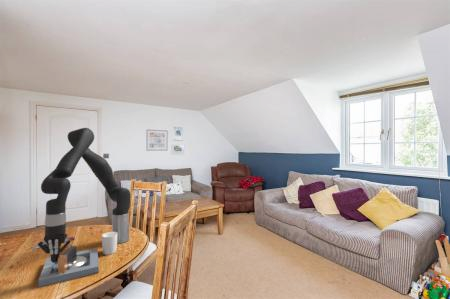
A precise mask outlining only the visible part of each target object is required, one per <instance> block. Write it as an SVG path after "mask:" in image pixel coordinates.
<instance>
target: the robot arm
mask: <svg viewBox="0 0 450 299" xmlns="http://www.w3.org/2000/svg"><path fill="white" fill-rule="evenodd" d="M67 140H68V142H69V144H70V146H72V148H70V150H68V151H67V153H65V154H64V155H63V156H62V158H61V159H60V160H59V162H58V164H57V166H56V167H55V169H53V170H52V171H51V172H50V173H49V174H48V175H47V176H46V177H44V179H43V180H42V182H41V184H40V185H41V186H40V190H41V192H42V193H43V194H46V195H57V196H56V197H55V198H51V199H49V200H47V201H46V202H45V203H46V204H45V218H44V237H43V239H42V240H41V241H39V242H38V243H37V245H38V246H39V247H40V248H39V249H41V250H42V251H43V252H44V253H45V254H46V255H47V254H50V257H51V261H52V263H54V262H57V261H58V258H59V257H60V255H61V253H62V252H64V251H65V249H66V248H67V247H68V246H69V245H70V244H71V243H72V242H73V241H72V239H69V238H70V237H68V234H67V233H66V232H67V215H66V209H67V208H66V204H67V199H68V196H69V193H70V190H71V187H72V186H71V184H72V183H71V181H70V180H69V179H68V178H70V177H72V175H73V173H74V171H75V169H76V167H77V165H78V164H79V162H80V160H81V158H82V159H83V160H84V162H85V163H86V164H87V166H88V167H89V168H90V170H91V171H92V173H93V174H94V176H95V177H96V178H97V179H98V180H99V183H100V184H101V185H102V186H103V187H104V189H105V190H106V192H107V195H108V197H109V198H110V200H111V201H113V202H115V203H116V207H114V208H113V209H112V212H111V213H112V215H111V216H112V218H111V219H112V222H111V223H112V227H111V228H112V230H111V232H117V233H118V235H117V244H123V243H126V242H129V241H130V225H129V220H130V219H129V217H130V216H129V211H130V208H131V191H130V189H128V188H126V187H121V186H119V185H118V183H117V181H115V177H114V173H113V168H112V167H111V165H110V164H109V163H108V161H107V160H106V159H105V158H104V157H103V156H101V155H99V154H98V153H96V152H94V151H92V150H91V149H90V148H89V147H91V145H92V144H93V143H94V140H95V133H94V132H93V130H91V128H88V127H82V128H78V129H75V130H72V131H70V132H67ZM66 234H67V235H66ZM64 240H65V242H64V243H63V241H64ZM46 243H47V244H48V245H47V244H46ZM62 245H63V246H62ZM61 246H62V247H61Z"/></svg>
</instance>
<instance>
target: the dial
mask: <svg viewBox="0 0 450 299" xmlns="http://www.w3.org/2000/svg"><path fill="white" fill-rule="evenodd" d="M77 250H78V249H77V245H71V246H69V248H67V249H66V250H64V251H63V253H62V254H60V255H61V256H60V257H59V258H58V264H57V272H58V273H65V271H66V270H70V269H75V268H79V267H84V266H86V257H83V256H77V252H78V251H77Z"/></svg>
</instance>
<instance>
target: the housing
mask: <svg viewBox="0 0 450 299" xmlns="http://www.w3.org/2000/svg"><path fill="white" fill-rule="evenodd" d="M98 253H99V252H98V248H93V249H87V250H81V251H77V256H83V257H86V266H84V267H79V268H75V269H70V270H66V271H65V273H58V272H57V264H58V261H57V262H54V263H52V261H51V256H50V257H46V259H45V263H44V265H43V267H42V270H41V273H40V275H39V278H38V283H37V284H38V285H37V286H38V288H42V287H46V286H50V285H54V284H55V285H56V284H59V283H62V282H67V281H70V280H74V279H79V278H80V279H81V278H82V277H83V278H84V277H87V276H88V277H89V276H92V275H95V274H99V272H100V270H99V268H100V267H99V254H98ZM61 255H62V254H60V256H61Z"/></svg>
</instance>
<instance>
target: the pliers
mask: <svg viewBox="0 0 450 299" xmlns="http://www.w3.org/2000/svg"><path fill="white" fill-rule="evenodd" d="M66 235H67V236H68V234H67V233H66ZM68 238H69V239H72V241H71V242H73V241H75V236H71V237H68ZM64 242H65V240H64V241H63V243H62V244H65V243H64ZM46 244H47V243H46ZM47 245H48V244H47ZM48 246H49V245H48ZM31 249H32V250H36V249H41V248H40V247H39V246H38V244H37V245H35V246H33V247H31Z"/></svg>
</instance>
